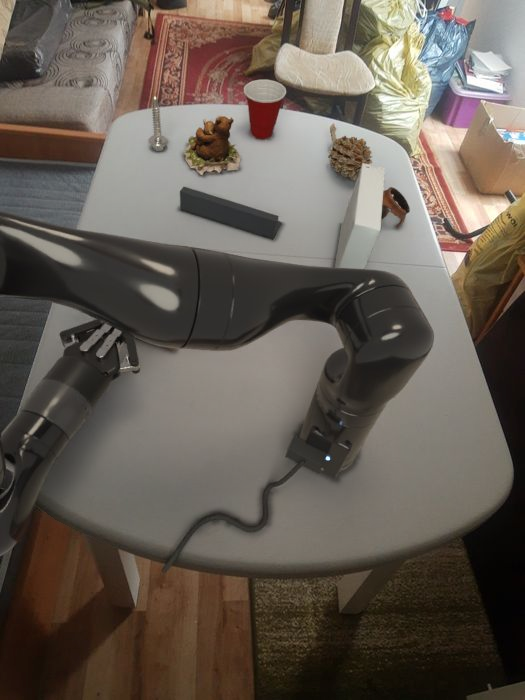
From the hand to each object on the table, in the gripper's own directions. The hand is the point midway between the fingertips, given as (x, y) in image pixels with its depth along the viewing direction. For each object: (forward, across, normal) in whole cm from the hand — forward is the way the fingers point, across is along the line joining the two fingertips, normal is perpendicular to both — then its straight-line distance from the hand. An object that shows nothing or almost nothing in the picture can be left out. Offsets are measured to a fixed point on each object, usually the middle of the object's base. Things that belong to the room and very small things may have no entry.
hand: (130, 310), depth 74 cm
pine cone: (+74, -17, +11) cm, 77 cm away
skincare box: (+41, -28, +11) cm, 51 cm away
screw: (+59, +27, +11) cm, 66 cm away
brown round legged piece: (+57, -32, +11) cm, 66 cm away
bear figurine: (+62, +13, +11) cm, 64 cm away
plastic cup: (+79, +6, +11) cm, 80 cm away
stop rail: (+42, 0, +11) cm, 43 cm away
